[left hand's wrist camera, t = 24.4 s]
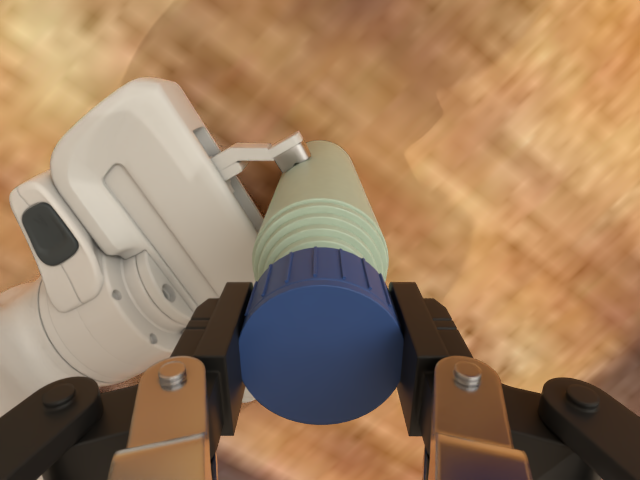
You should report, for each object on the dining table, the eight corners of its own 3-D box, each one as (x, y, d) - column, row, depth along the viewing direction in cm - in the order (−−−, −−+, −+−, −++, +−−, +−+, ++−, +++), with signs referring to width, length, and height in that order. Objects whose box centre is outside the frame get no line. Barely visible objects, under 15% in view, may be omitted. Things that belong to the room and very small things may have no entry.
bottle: (360, 202, 30) (430, 402, 11) (293, 216, 31) (253, 432, 12) (347, 132, 28) (404, 234, 10) (276, 148, 29) (195, 277, 10)
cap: (241, 358, 13) (225, 415, 11) (258, 232, 11) (243, 268, 9) (374, 377, 13) (385, 436, 11) (408, 257, 12) (429, 298, 9)
